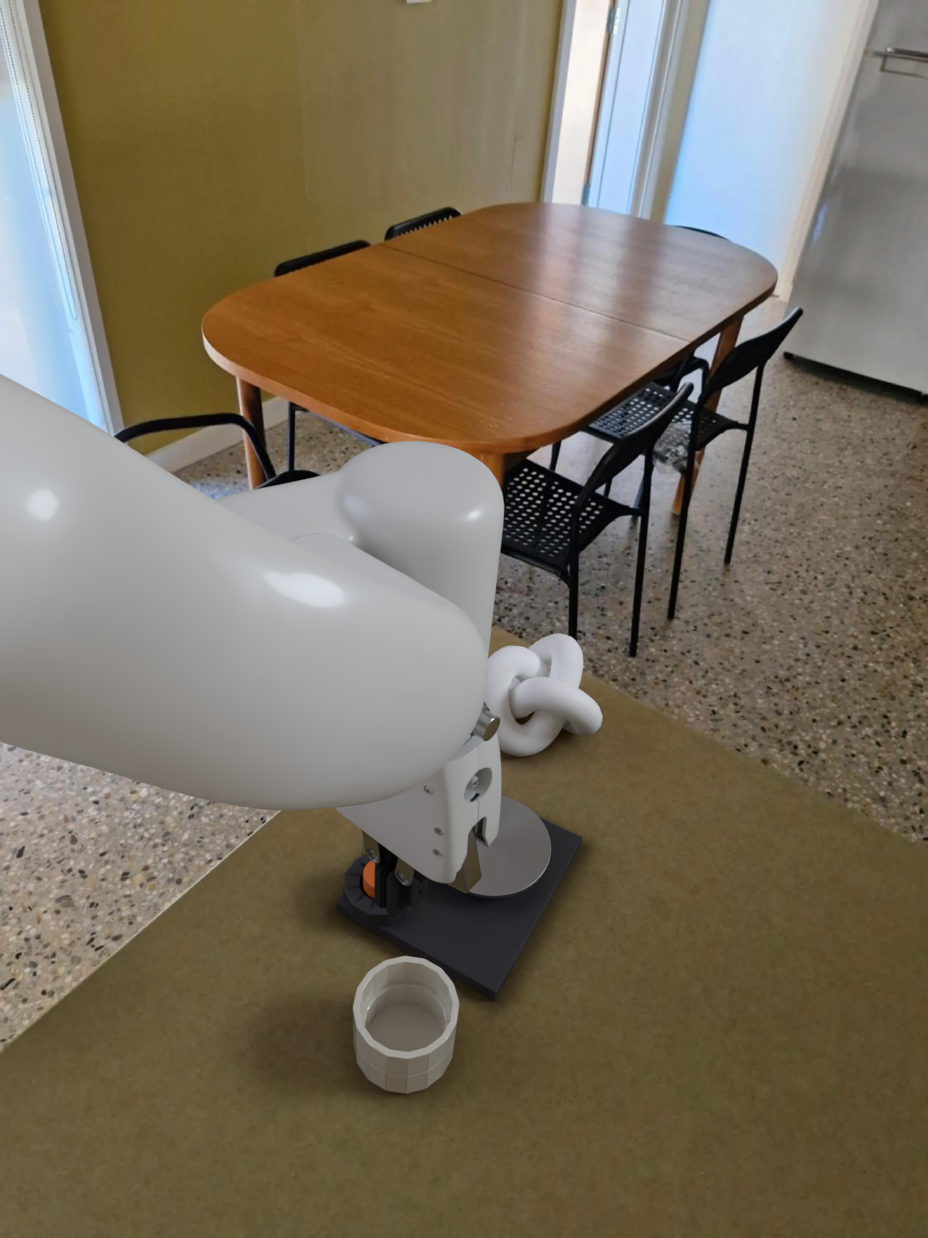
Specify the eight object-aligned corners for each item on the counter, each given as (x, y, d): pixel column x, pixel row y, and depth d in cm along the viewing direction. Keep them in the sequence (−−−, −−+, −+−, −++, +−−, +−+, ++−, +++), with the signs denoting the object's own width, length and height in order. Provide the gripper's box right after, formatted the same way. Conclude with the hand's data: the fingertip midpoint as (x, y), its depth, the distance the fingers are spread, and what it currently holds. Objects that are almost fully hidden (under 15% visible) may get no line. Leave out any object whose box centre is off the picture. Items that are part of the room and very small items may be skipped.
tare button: (386, 906, 67) (386, 894, 66) (356, 889, 68) (355, 877, 67) (406, 879, 69) (406, 867, 68) (376, 863, 70) (376, 851, 69)
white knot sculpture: (507, 792, 80) (517, 723, 74) (447, 706, 88) (452, 637, 82) (609, 754, 85) (627, 685, 79) (543, 675, 93) (555, 608, 87)
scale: (492, 1006, 65) (495, 985, 63) (330, 914, 69) (329, 892, 68) (580, 847, 76) (585, 825, 74) (436, 778, 81) (438, 755, 79)
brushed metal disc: (516, 920, 67) (517, 917, 67) (404, 861, 70) (404, 858, 70) (570, 828, 74) (570, 825, 74) (465, 778, 77) (465, 775, 77)
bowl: (420, 1117, 58) (424, 1079, 55) (334, 1062, 61) (332, 1022, 57) (471, 1028, 63) (477, 988, 60) (389, 980, 66) (390, 939, 62)
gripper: (574, 718, 44) (530, 926, 55) (353, 589, 50) (356, 799, 62) (481, 809, 39) (454, 1016, 50) (251, 654, 45) (274, 867, 57)
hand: (400, 896), depth 56 cm, fingers closed
